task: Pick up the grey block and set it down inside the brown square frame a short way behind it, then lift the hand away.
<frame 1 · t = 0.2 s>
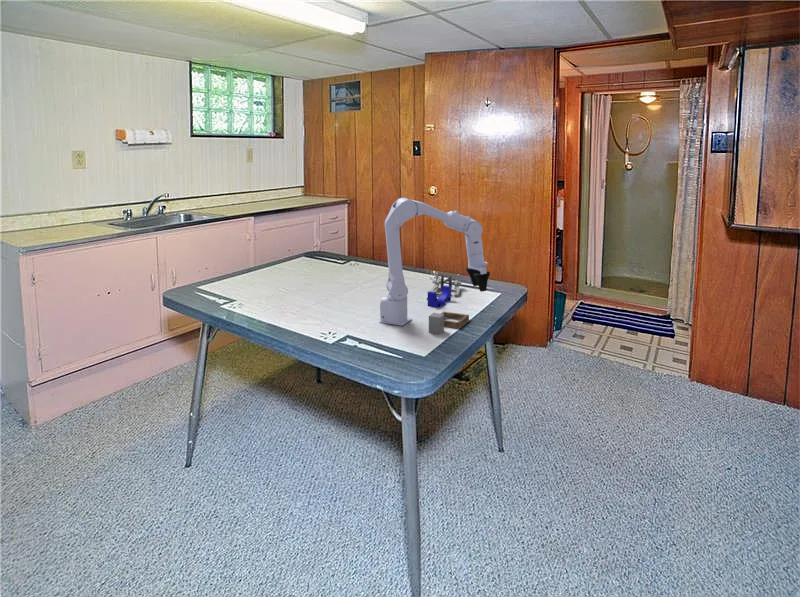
hand: (479, 288, 196), 10 cm above the table, fingers open, 7 cm apart
grey block: (436, 331, 183), on the table
cable clip: (440, 304, 215), on the table
bike brake: (445, 294, 228), on the table
brown square frame: (451, 322, 192), on the table
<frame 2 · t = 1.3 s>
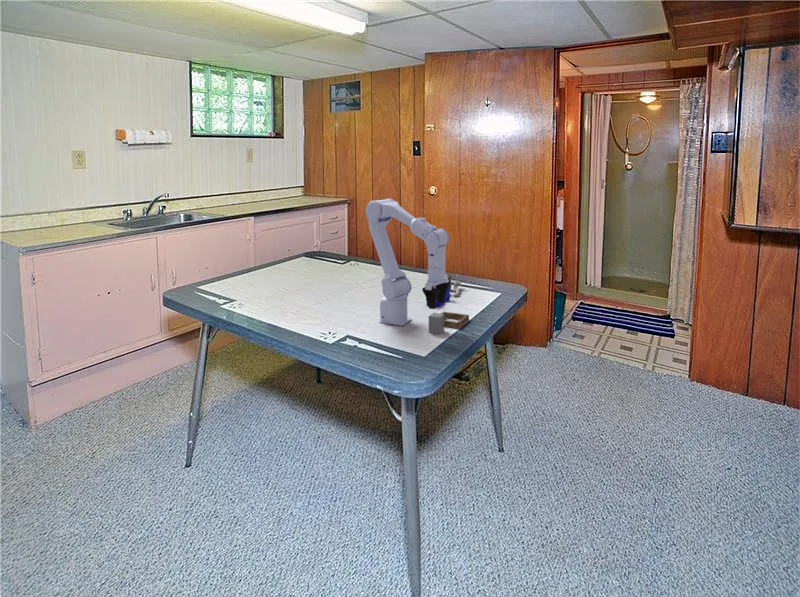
hand: (436, 305, 181), 9 cm above the table, fingers open, 7 cm apart
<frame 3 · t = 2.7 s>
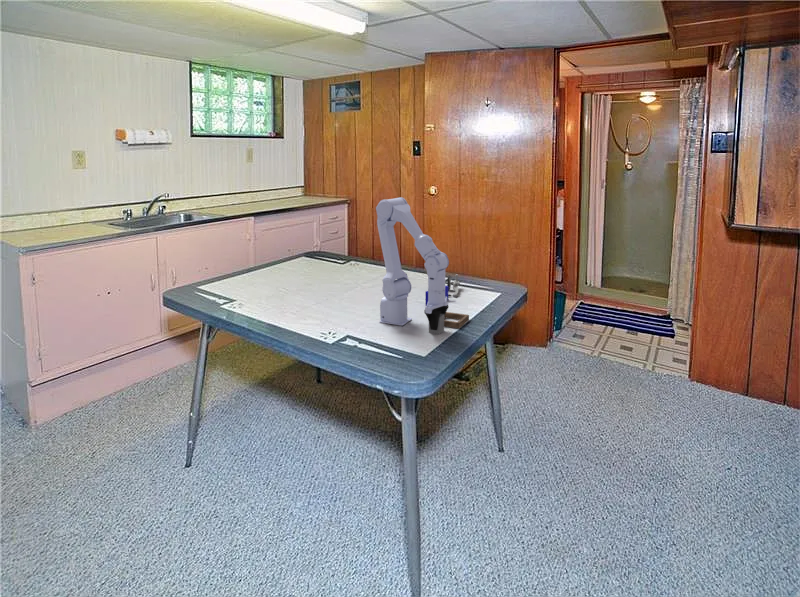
hand: (436, 327, 183), 1 cm above the table, fingers closed on grey block, 4 cm apart
grey block: (436, 331, 183), on the table, touching gripper
cable clip: (438, 304, 215), on the table, touching bike brake
bike brake: (444, 295, 228), on the table, touching cable clip
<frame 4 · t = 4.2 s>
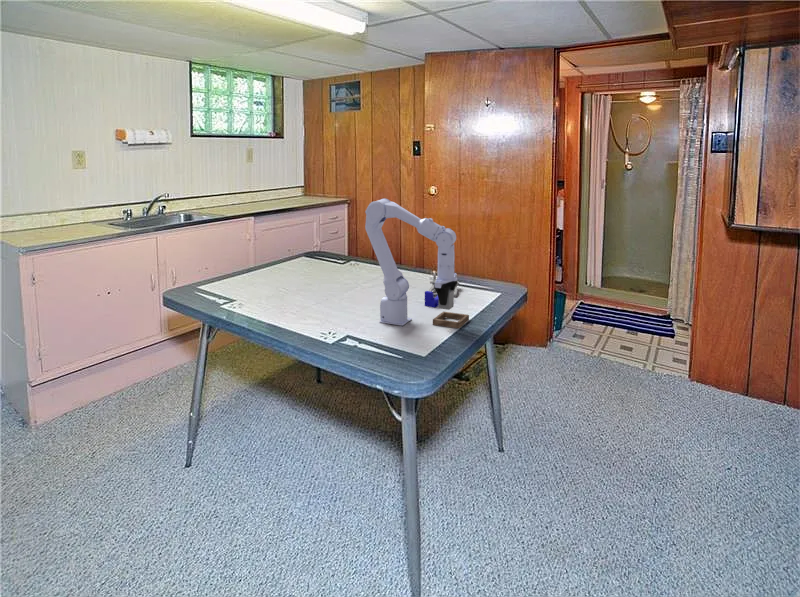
hand: (445, 303, 186), 8 cm above the table, fingers closed on grey block, 4 cm apart
grey block: (446, 307, 186), point 7 cm above the table, touching gripper
cable clip: (437, 304, 215), on the table
bike brake: (443, 295, 228), on the table
when the fingers open (3 cm above the table, at t = 5.9 s): grey block drops 1 cm, resting in brown square frame.
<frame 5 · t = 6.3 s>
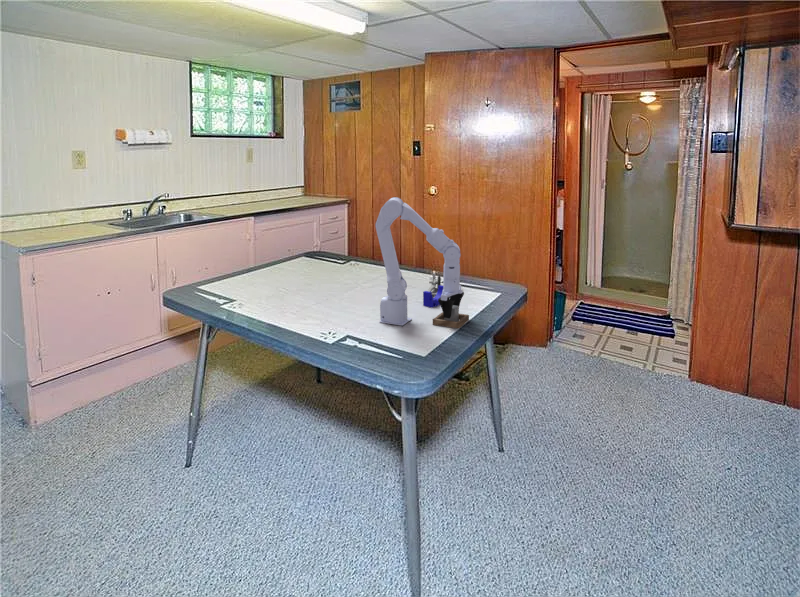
hand: (451, 314, 191), 3 cm above the table, fingers open, 7 cm apart
grey block: (451, 322, 192), resting in brown square frame
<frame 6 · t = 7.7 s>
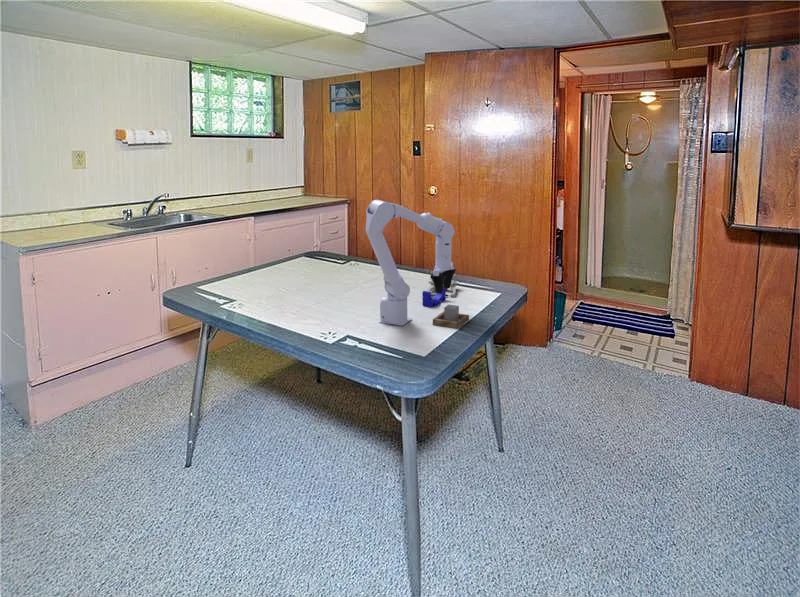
hand: (443, 290, 198), 9 cm above the table, fingers open, 7 cm apart
nothing on the table moved.
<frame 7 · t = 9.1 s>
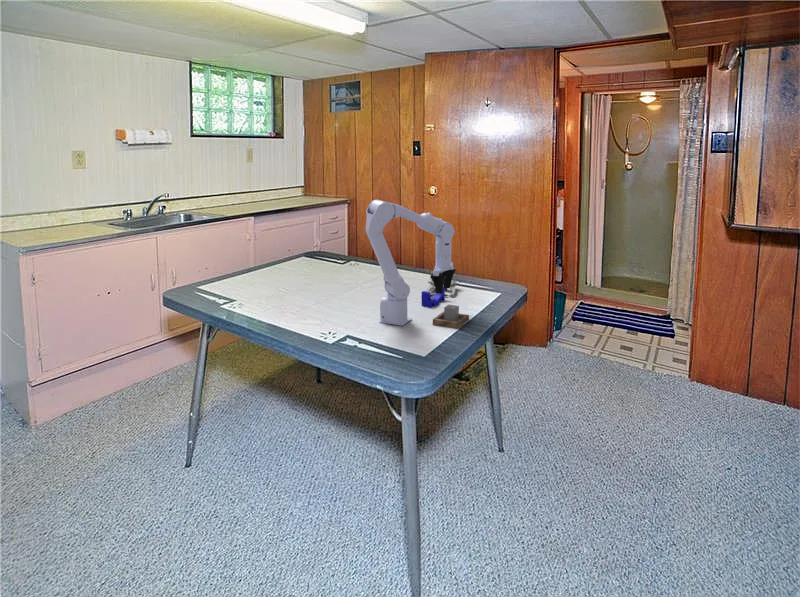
hand: (443, 290, 198), 9 cm above the table, fingers open, 7 cm apart
at the end: grey block 0.2 cm off-centre on the brown square frame, point 0.0 cm above the brown square frame's base; grey block tilted 0°; the gripper is holding nothing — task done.
